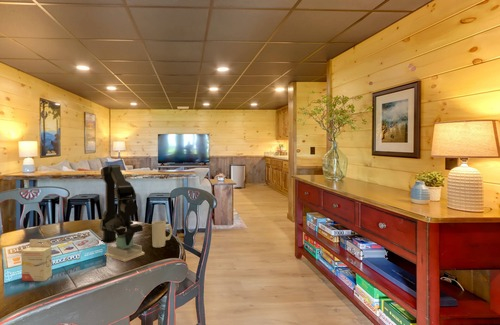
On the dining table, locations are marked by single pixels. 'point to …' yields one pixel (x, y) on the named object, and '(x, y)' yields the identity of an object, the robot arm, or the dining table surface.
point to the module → (122, 242)
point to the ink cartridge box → (37, 261)
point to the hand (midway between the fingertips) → (124, 244)
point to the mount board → (124, 252)
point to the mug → (160, 233)
